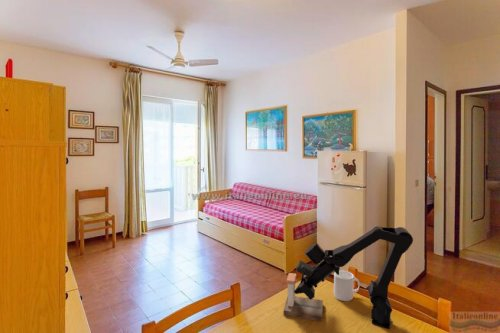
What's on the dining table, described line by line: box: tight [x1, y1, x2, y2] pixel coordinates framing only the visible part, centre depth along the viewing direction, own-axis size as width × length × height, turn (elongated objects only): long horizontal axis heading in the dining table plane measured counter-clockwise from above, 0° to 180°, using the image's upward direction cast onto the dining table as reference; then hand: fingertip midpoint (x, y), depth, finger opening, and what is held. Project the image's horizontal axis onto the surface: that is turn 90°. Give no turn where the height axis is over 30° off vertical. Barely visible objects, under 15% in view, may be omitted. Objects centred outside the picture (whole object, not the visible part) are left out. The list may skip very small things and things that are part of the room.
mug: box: [333, 269, 361, 302], centre depth 131 cm, size 9×12×11 cm
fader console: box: [283, 295, 324, 322], centre depth 121 cm, size 16×12×2 cm
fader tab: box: [286, 272, 297, 307], centre depth 122 cm, size 3×7×12 cm, turn 164°
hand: (294, 292), depth 122 cm, fingers closed
